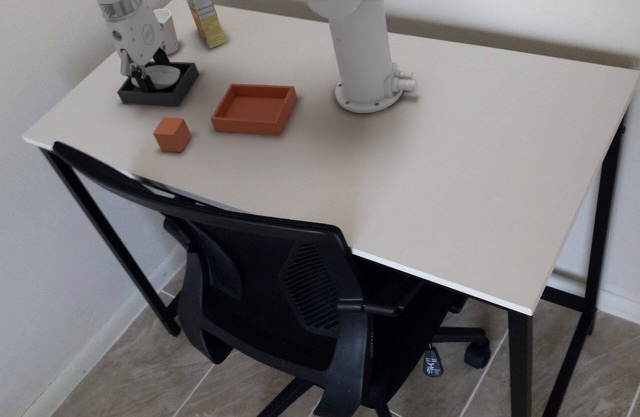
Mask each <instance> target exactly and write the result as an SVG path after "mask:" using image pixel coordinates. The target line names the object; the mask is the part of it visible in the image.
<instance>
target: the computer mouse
mask: <svg viewBox="0 0 640 417" xmlns="http://www.w3.org/2000/svg"><path fill="white" fill-rule="evenodd" d="M145 70H146V75H149V76H150V78H151V80H152V82H153V84H154V86H155V88H156V90H158V89H163V88H167V87H170V86H172V85H174V84H175V83H176V82H177V81H178V79H179V76H180V70H179V69H177V68H175V67H171V66H166V65H156V66H150V67H147V68H145ZM139 72H140V70H139ZM131 81H132V83H133V84H134V85H135V86H137V87H139V85H138V83H137V81H136V79H135V78H131ZM139 88H140V87H139Z"/></svg>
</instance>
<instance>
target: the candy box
mask: <svg viewBox="0 0 640 417" xmlns="http://www.w3.org/2000/svg"><path fill="white" fill-rule="evenodd" d="M186 3H187V5H188V8H189V10H190V13H191V15H192V19H193V21H194V24H195V26H196V30H197V31H198V34H200V37H201V38H202V39H203V41H204V42H205V44H206V45H207V46H208V48H209V49H210V50H212V49H214V48H215V47H217V46H220V45H223V44H225V43H226V42H227V41H226V38H225V35H224V31H223V29H222V24H221V23H220V20H219V17H218V14H217V11H216V7H215V5H214V2H213V0H186Z"/></svg>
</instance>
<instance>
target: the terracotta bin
mask: <svg viewBox="0 0 640 417" xmlns="http://www.w3.org/2000/svg"><path fill="white" fill-rule="evenodd" d="M229 84H230V85H229V86H228V88H227V89H226V91H225V93H224V94H223V96H222V98H221V99H220V101H219V103H218V105H217V107H216V108H215V110H214V112H213V113H212V115H211V117H210V122H211V124H212V127H213V129H214V131H215V132H225V133H238V134H253V135H269V136H280V135H281V134H282V132H283V130H284V127H285V125H286V123H287V121H288V119H289V117H290V115H291V113H292V111H293V109H294V107H295V105H296V102H297V100H298V95H297V92H296V89H295V85H279V84H278V85H277V84H275V85H274V84H254V83H253V84H252V83H229Z"/></svg>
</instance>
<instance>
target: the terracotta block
mask: <svg viewBox="0 0 640 417" xmlns="http://www.w3.org/2000/svg"><path fill="white" fill-rule="evenodd" d="M152 134H153V137H154V139H155V141H156V143H157V144H158V146H159V148H160V150H161V151H165V152H175V153H183V152H184V150H185V148H186V146H187V145H188V142H189V141H190V140H191V138H192V133H191V131H190V129H189V127H188V124H187V123H186V121H185V119H184V118H181V117H166V116H164V117H162V118H161V120H160V121H159V123H158V125H157V126H156V127H155V129H154V130H153V132H152Z"/></svg>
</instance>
